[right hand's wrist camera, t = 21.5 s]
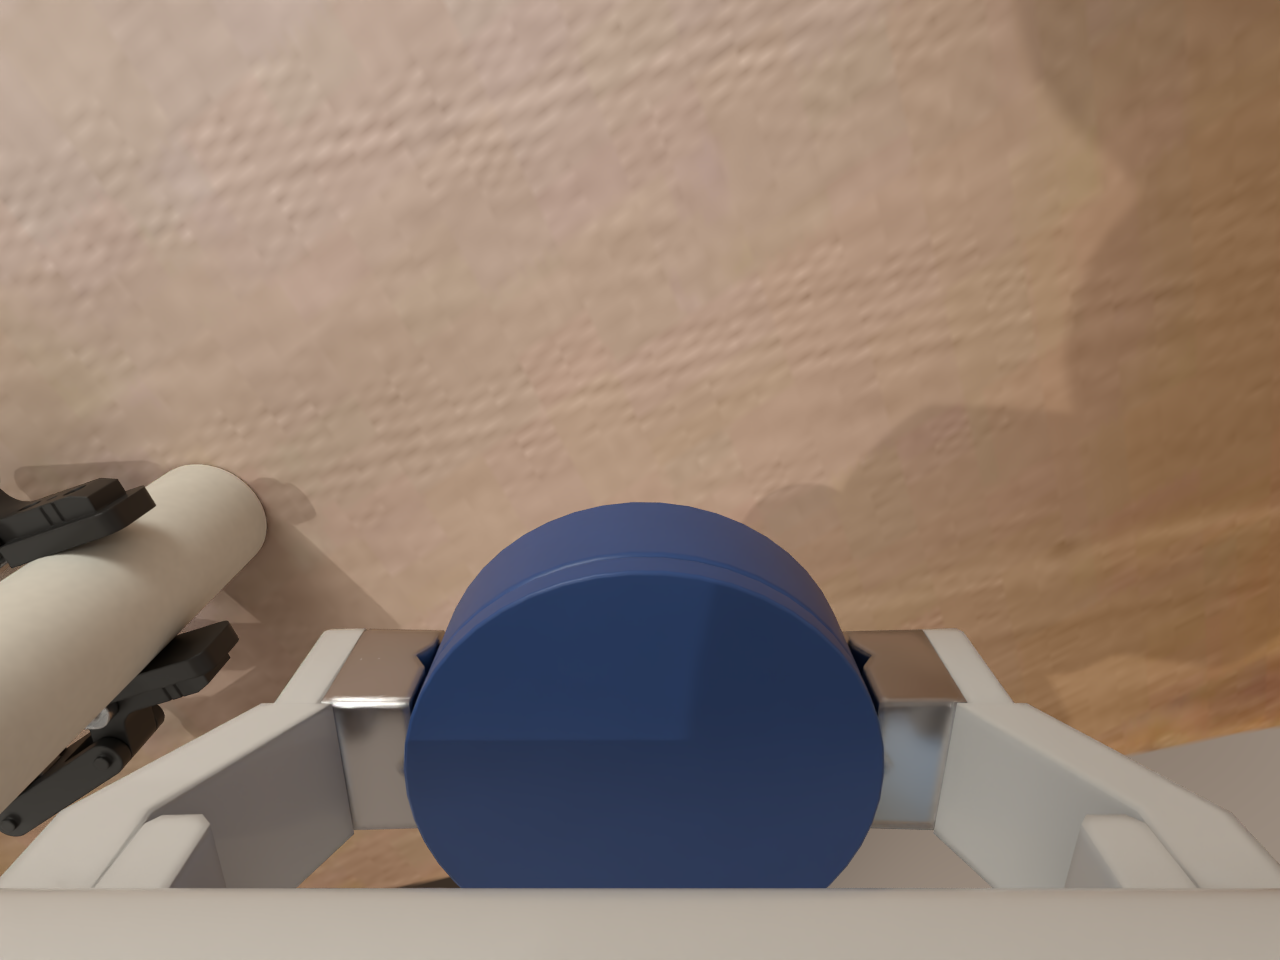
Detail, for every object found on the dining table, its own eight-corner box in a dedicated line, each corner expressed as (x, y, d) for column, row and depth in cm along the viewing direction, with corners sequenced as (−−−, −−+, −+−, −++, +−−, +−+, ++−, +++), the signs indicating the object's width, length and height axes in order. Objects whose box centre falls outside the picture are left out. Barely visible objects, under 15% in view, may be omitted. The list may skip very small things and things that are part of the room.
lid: (362, 696, 10) (307, 800, 9) (626, 411, 9) (622, 466, 7) (657, 894, 11) (660, 1019, 10) (928, 670, 10) (986, 770, 8)
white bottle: (290, 539, 31) (-48, 903, 16) (200, 584, 32) (-207, 972, 17) (219, 444, 30) (-230, 743, 14) (126, 493, 31) (-395, 827, 15)
